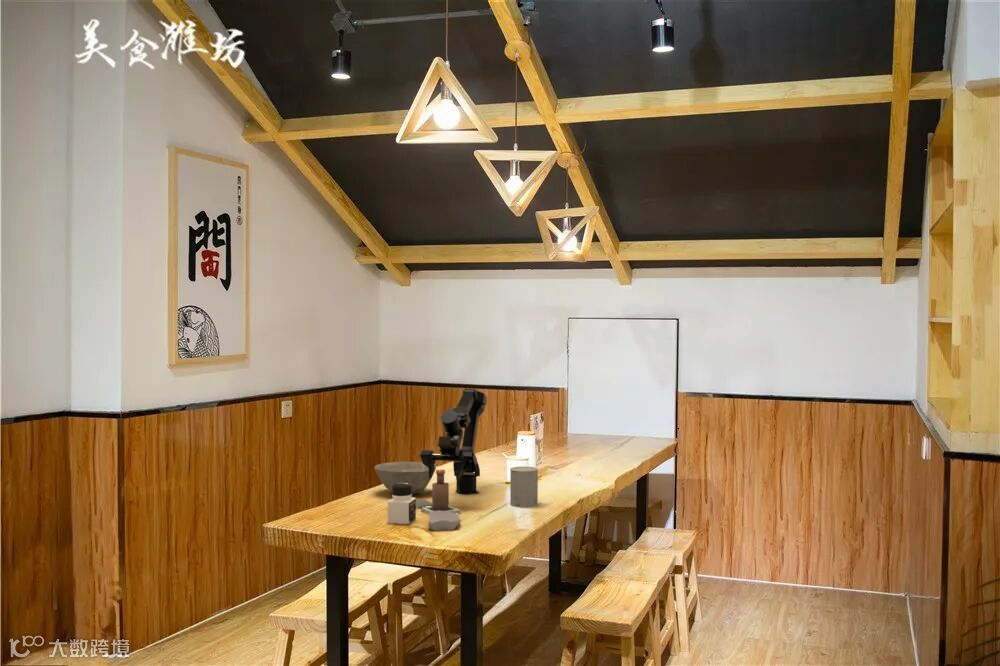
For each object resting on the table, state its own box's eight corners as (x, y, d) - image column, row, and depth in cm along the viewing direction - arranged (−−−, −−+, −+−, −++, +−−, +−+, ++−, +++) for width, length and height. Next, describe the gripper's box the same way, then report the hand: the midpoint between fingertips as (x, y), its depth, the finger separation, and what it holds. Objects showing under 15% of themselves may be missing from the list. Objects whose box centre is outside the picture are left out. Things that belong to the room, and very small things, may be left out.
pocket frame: (446, 508, 304) (446, 504, 304) (460, 513, 296) (460, 509, 295) (421, 511, 299) (421, 507, 299) (434, 516, 291) (434, 513, 291)
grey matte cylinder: (518, 508, 303) (518, 472, 303) (505, 503, 312) (505, 467, 312) (543, 505, 308) (543, 469, 308) (529, 500, 316) (529, 465, 316)
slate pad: (423, 500, 316) (423, 499, 316) (436, 505, 307) (436, 504, 307) (397, 503, 311) (397, 502, 310) (410, 509, 302) (410, 507, 302)
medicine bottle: (409, 524, 280) (409, 486, 279) (387, 523, 281) (387, 485, 281) (416, 519, 287) (416, 482, 286) (394, 518, 288) (394, 481, 288)
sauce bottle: (444, 510, 301) (444, 468, 301) (451, 513, 296) (451, 470, 296) (429, 511, 298) (429, 469, 298) (436, 514, 293) (436, 472, 293)
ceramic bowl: (421, 501, 314) (421, 473, 314) (363, 497, 322) (363, 469, 322) (446, 490, 335) (446, 463, 335) (391, 485, 343) (391, 459, 343)
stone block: (458, 527, 284) (426, 522, 283) (461, 513, 284) (430, 507, 283) (459, 538, 272) (426, 532, 272) (462, 523, 272) (429, 517, 271)
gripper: (421, 426, 307) (411, 463, 297) (474, 427, 303) (466, 465, 293) (428, 446, 315) (418, 483, 305) (480, 447, 311) (472, 485, 300)
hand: (443, 478), depth 300 cm, fingers open, 9 cm apart
